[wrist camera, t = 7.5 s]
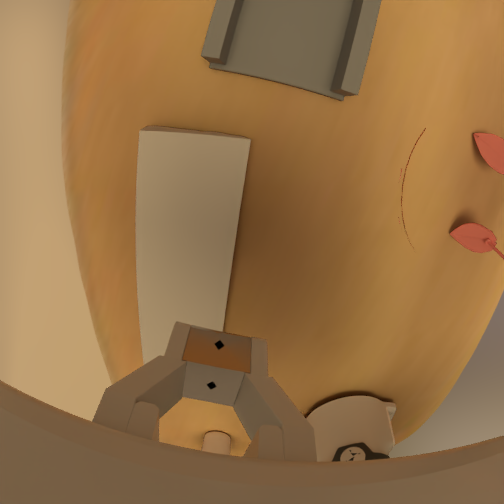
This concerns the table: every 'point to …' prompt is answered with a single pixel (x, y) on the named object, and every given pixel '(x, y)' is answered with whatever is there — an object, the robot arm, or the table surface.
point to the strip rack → (294, 42)
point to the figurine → (472, 234)
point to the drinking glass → (216, 443)
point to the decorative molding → (185, 228)
